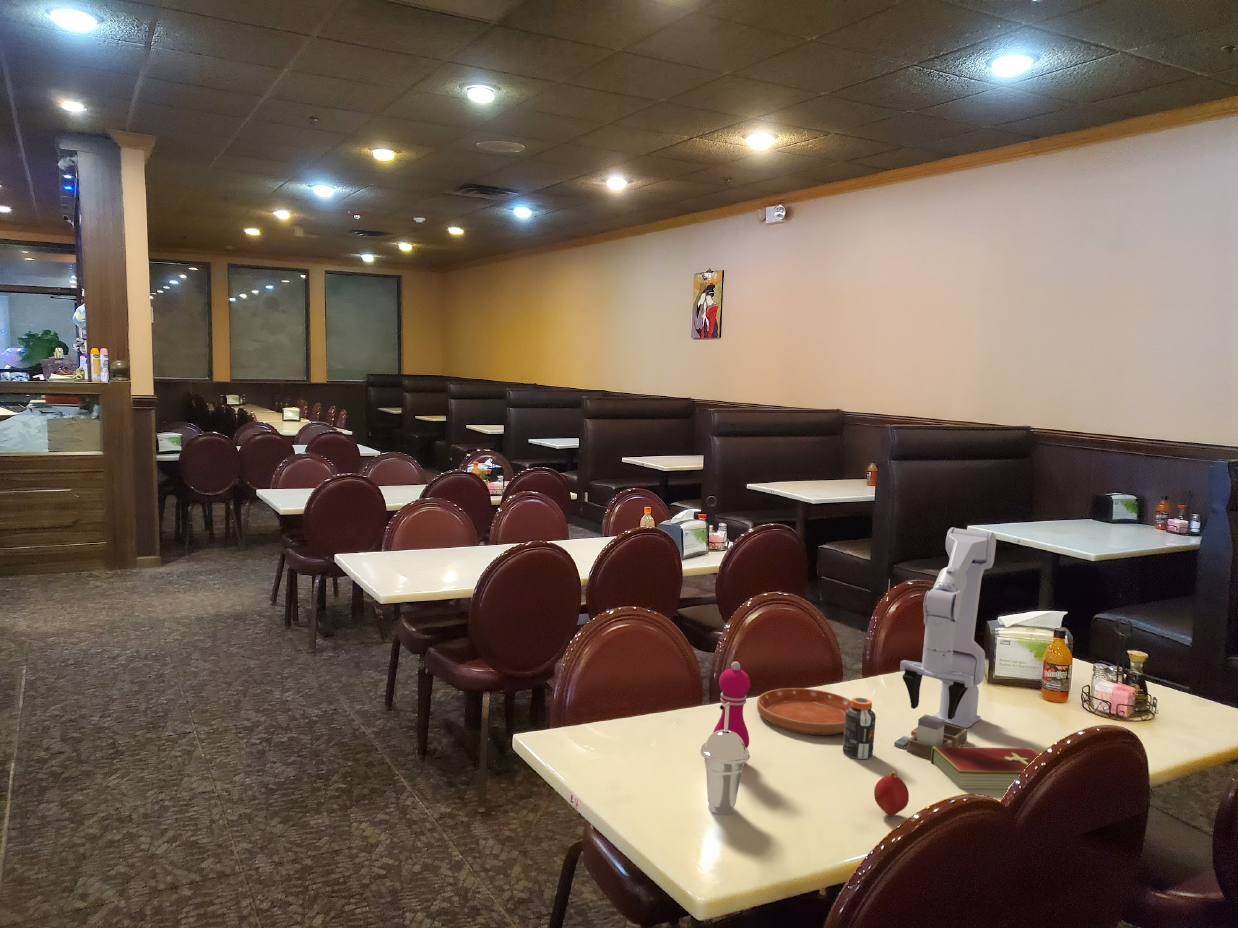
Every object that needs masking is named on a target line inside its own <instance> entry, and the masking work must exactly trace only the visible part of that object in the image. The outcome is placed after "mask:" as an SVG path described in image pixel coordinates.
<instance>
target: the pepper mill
mask: <svg viewBox="0 0 1238 928" xmlns="http://www.w3.org/2000/svg"><path fill="white" fill-rule="evenodd" d="M718 684H719V688H720V690H721V691H722V692H721V693H720V699H719V700H720V701H721V705H722V704H723V703H725V702H726V701H728V702H729V706H730V708H729V722H728V730H731V731H733V732H735V733H737V734H738V735H739V736H740V737H741V738H742V740H743V742H744V745H745V747H746V748H747V749H748V748H749V745H750V735H749V731H748V729H747V725H746V722H745V720H744V705H745V704H747V694H746V693H747V692H748V691H750V687H751V680H750V676H749V675H748V674H747V673H746V672H745V671H744V670H742V669H741V663H739V662H738V661H732V663H731V665H730V668H728V669H726V670H724V671H723V672H722V673H721V675H720V676H719V680H718ZM724 722H725V708H724V709H723V710H721V715H720V718H719V720H718V722H717V724H716V725H715V727H714V729H713V732H712V733H714V732H716V731H718V730H722V729H724ZM744 765H746V762H745V763H744Z"/></svg>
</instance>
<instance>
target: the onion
mask: <svg viewBox="0 0 1238 928" xmlns="http://www.w3.org/2000/svg"><path fill="white" fill-rule="evenodd" d="M873 795H874V801H875V803H876V804H877V806H878V807H879V808H880V810H882V811H883V812H884V813H885V814H886V815H887V816H888V815H889V816H890V817H892V816H895V815H896V814H898V813H900V812H901V811H904V809H906V807H907V806H908V804H909V802H910V801H909V799H910V798H909V797H910V795H909V789H908V787H907V785H906V783H905V782H904V781H903V780H902V778H900V777H899V776H898V775H897V772H896V771H891V772H890V773H889V774H887V775H884V776H883V777H882V778H880V779H879V780H878V781H877V782H876V784H875V787H874V791H873ZM889 816H888V817H889Z"/></svg>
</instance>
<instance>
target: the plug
mask: <svg viewBox="0 0 1238 928" xmlns="http://www.w3.org/2000/svg"><path fill="white" fill-rule="evenodd" d="M933 716H934V715H933ZM933 716H932V715H930V714H924V715H923V716H921V717H920V718H918V720H917V721H918V722H917V723H918V724H917V727H918V731H917V742H920V743H924V744H927V745H930V746H934V747H941V746H942V745H943V735H944V724H945V723H946V722H945V720H944V719H940V718H937V717H933Z"/></svg>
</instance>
